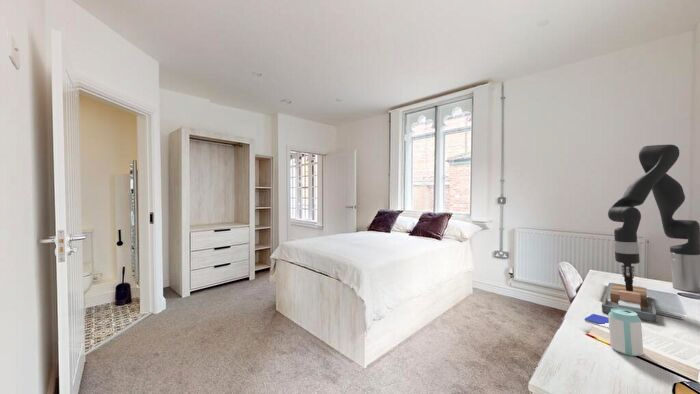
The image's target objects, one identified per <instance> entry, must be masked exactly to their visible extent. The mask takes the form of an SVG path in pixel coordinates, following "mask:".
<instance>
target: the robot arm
mask: <svg viewBox="0 0 700 394" xmlns="http://www.w3.org/2000/svg"><path fill="white" fill-rule="evenodd" d="M679 157H680V149H679V147H678V146H677V145H675V144H654V145H653V144H652V145H646V146H643V147H641V148H640V150H639V151H638V160H639V162H640V165H641V167H642V169H643V172H644V174H643V175H641V176H640V177H638V178H636V179H635V180H633V182H631V183H630V184H629V185H628V187H627V188H626V190H625V192H624V194H623V195H622V197H620V198H619V199H617V200H616V201H615V203H613V205H611V206H610V208H609V209H608V211H607V212H608V213H607V216H608V218H609V220H611V221H612V222H615V223H623V224H622V226H621V227H616V228H615V229H614V230H613V233H614V244H613V245H614V247H613V248H614V257H615V258H614V259H615V262H617V263H622V264H621V271H622V277H623V278H624V283H625V284H624V285H626V290H627V291H633V286H634V285H633V284H634V280H633V279H634V278H635V273H634V272H635V266H634V265H637V264H640V248H639V243H638V234H637V232H638V229H639V226H640V223H641V220H642V214H641V213H642V212H640V210H639V209H638V208H637V207H638V206H642V205H643V204H644V203H645V202H646V199H647V198H648V196H649V194H650V193H651V192H652V195H653V198H654V200H655V203H656V206H657V208H658V211H659V215H660V219H661V223H662V228H663V233H664V234H665V236H666V237H668V238H669V239H675V240H676V239H679V240H687V242H685V243H683V244H678V245H676V244H675V245H672V246H670V247H669V253H670V256H669V257H670V266H671V267H670V268H671V281H672V283H671V285H672V288H674V289H676V290H678V291H679V290H680V291H684V292H691V293H692V292H693V293H700V223H699V222H698V221H697V220H692V219H674V218H673V216H674V215H675V213H676V212H677V210H678V209H679V208H680V207H681V206H682V204H684V202H685V200H686V196H685V193H684V189H683V187H682V185H681V183H680V182H679V181H677V180H676V179H675V178H673V177H672V176H671V175H669V174H668V171H669V170H671V168H672V167H673V166H674V165H675V164H676V163H677V161H678V159H679ZM632 265H633V266H632Z"/></svg>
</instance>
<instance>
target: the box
mask: <svg viewBox="0 0 700 394" xmlns="http://www.w3.org/2000/svg"><path fill="white" fill-rule="evenodd" d="M608 299H609V298H608V294H604V296H603V300H602V303H601V313H603V314H607V315H608V314H609V313H610V312H611V309H612V308H619V303H618V302H613V301H611V300H608ZM650 303H651V307H649V306H648V307H642V306H641V311H636V310H630V309H627V310H630V311H633V312H635V313H637V314H638V315H637V316H638V317H639V318H640V319H641V321H643V322H644V321H645V322H648V323H653V324H657V323H658V319H657V318H658V317H657V312H656V311H657V310H656V306H655V305H656V304H655V302H653V301H651V302H650ZM621 309H625V308H621Z"/></svg>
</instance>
